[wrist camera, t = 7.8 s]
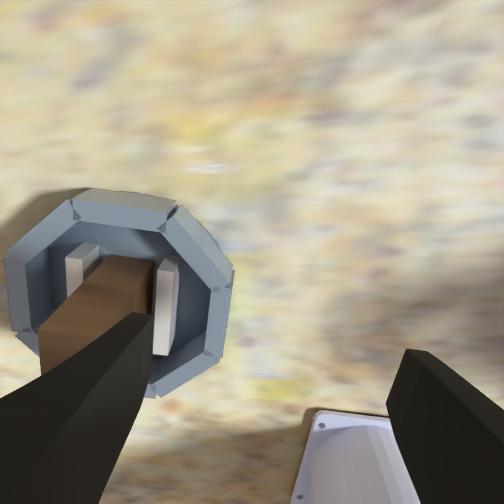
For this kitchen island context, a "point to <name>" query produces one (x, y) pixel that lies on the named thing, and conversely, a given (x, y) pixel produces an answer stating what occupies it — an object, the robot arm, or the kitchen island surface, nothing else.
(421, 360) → the robot arm
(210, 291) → the blue-grey octagonal tray
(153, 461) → the kitchen island surface
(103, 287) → the wooden rectangular block
